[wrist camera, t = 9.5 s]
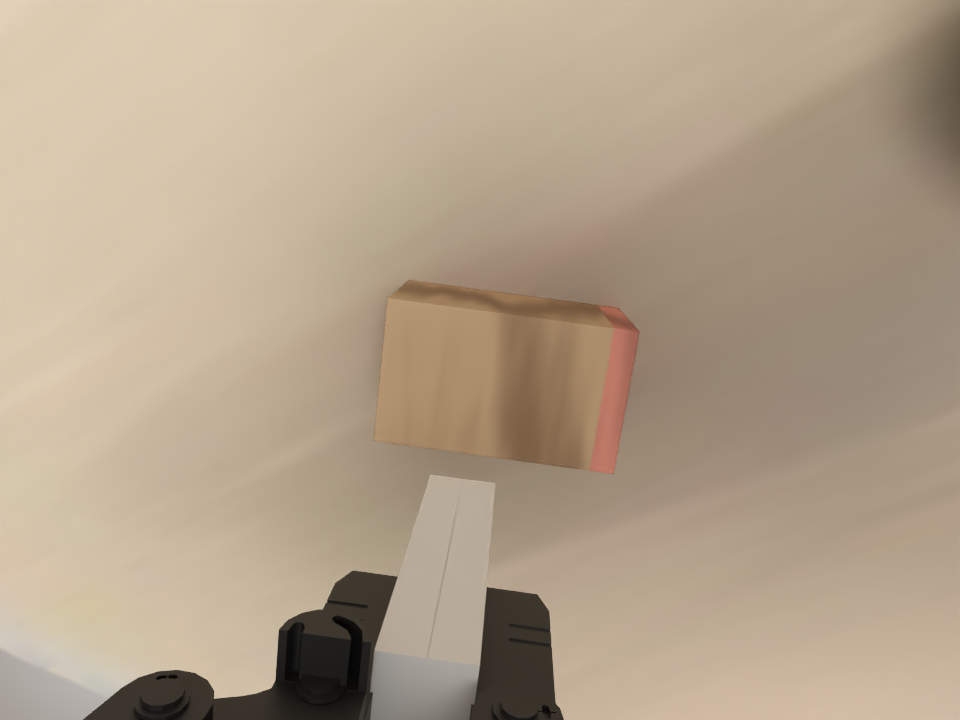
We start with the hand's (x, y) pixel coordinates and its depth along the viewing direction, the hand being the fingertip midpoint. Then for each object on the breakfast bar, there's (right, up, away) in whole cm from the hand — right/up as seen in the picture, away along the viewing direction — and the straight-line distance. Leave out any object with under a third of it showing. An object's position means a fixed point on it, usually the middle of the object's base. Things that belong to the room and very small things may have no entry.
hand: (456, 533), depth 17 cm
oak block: (+7, +3, +15) cm, 17 cm away
